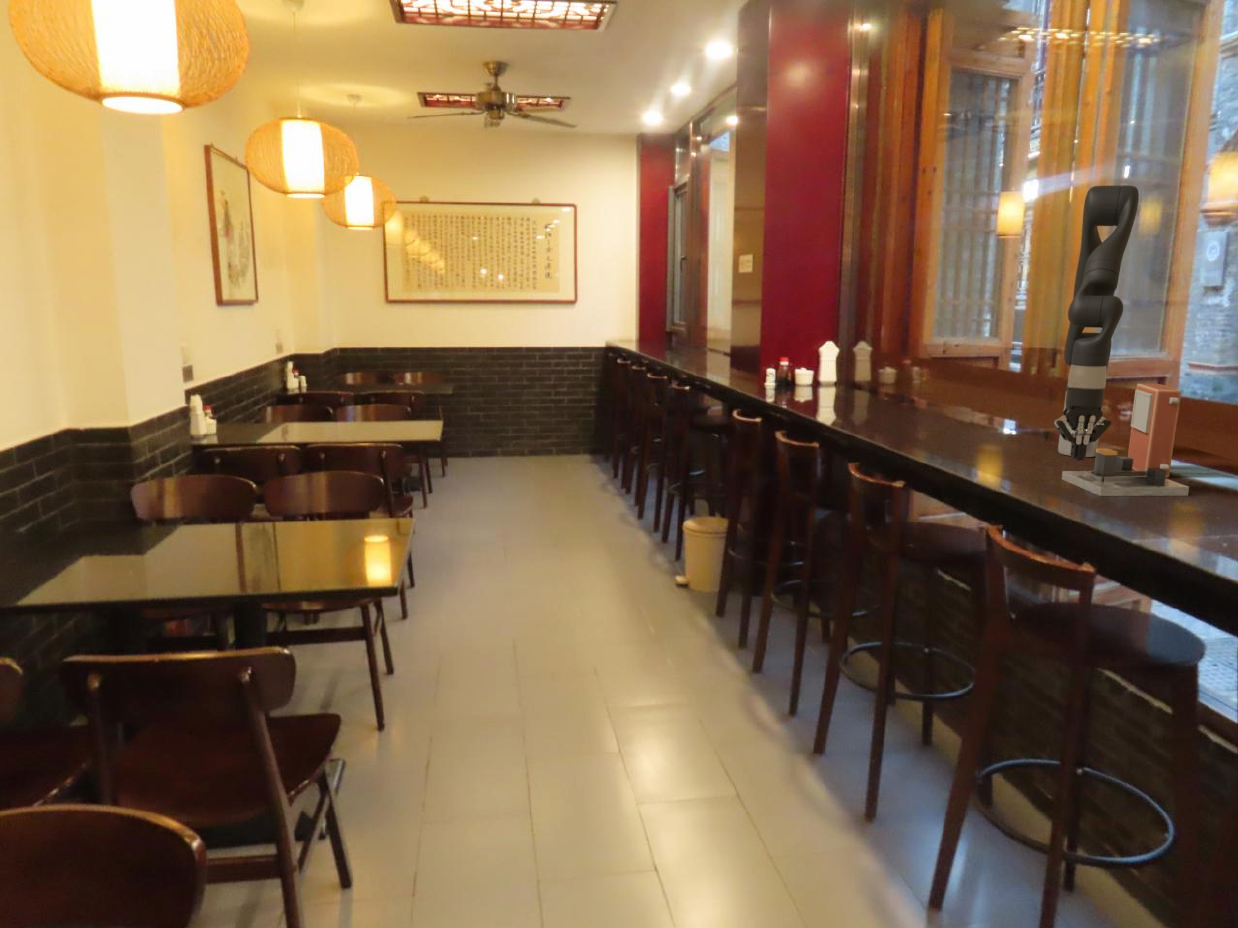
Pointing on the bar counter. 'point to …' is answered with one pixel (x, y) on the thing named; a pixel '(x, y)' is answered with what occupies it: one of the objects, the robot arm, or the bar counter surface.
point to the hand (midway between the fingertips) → (1077, 459)
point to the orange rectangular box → (1153, 426)
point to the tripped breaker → (1105, 462)
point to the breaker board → (1127, 481)
